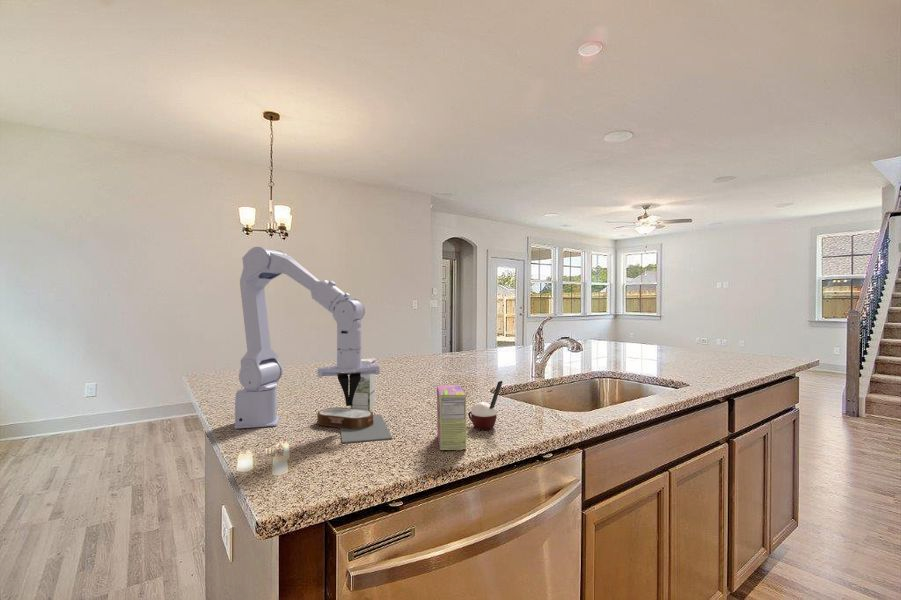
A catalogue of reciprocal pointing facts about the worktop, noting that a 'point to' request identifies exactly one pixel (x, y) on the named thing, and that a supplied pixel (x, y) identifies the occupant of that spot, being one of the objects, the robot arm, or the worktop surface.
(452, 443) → the box
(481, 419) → the cocoa
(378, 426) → the mat
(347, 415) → the tin
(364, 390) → the syrup box
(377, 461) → the worktop surface
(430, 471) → the worktop surface
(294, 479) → the worktop surface
